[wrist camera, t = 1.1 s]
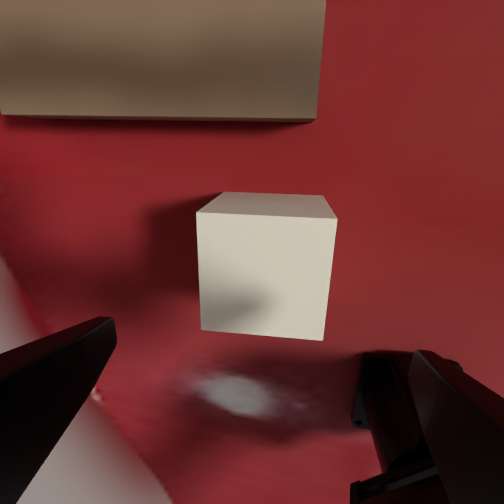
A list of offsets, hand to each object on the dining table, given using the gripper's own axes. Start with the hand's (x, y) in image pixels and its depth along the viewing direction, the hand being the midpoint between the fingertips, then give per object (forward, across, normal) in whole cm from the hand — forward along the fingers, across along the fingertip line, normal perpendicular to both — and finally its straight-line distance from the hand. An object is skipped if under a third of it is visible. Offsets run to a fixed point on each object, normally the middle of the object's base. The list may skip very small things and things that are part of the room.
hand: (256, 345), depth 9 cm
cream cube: (+11, 0, 0) cm, 11 cm away
